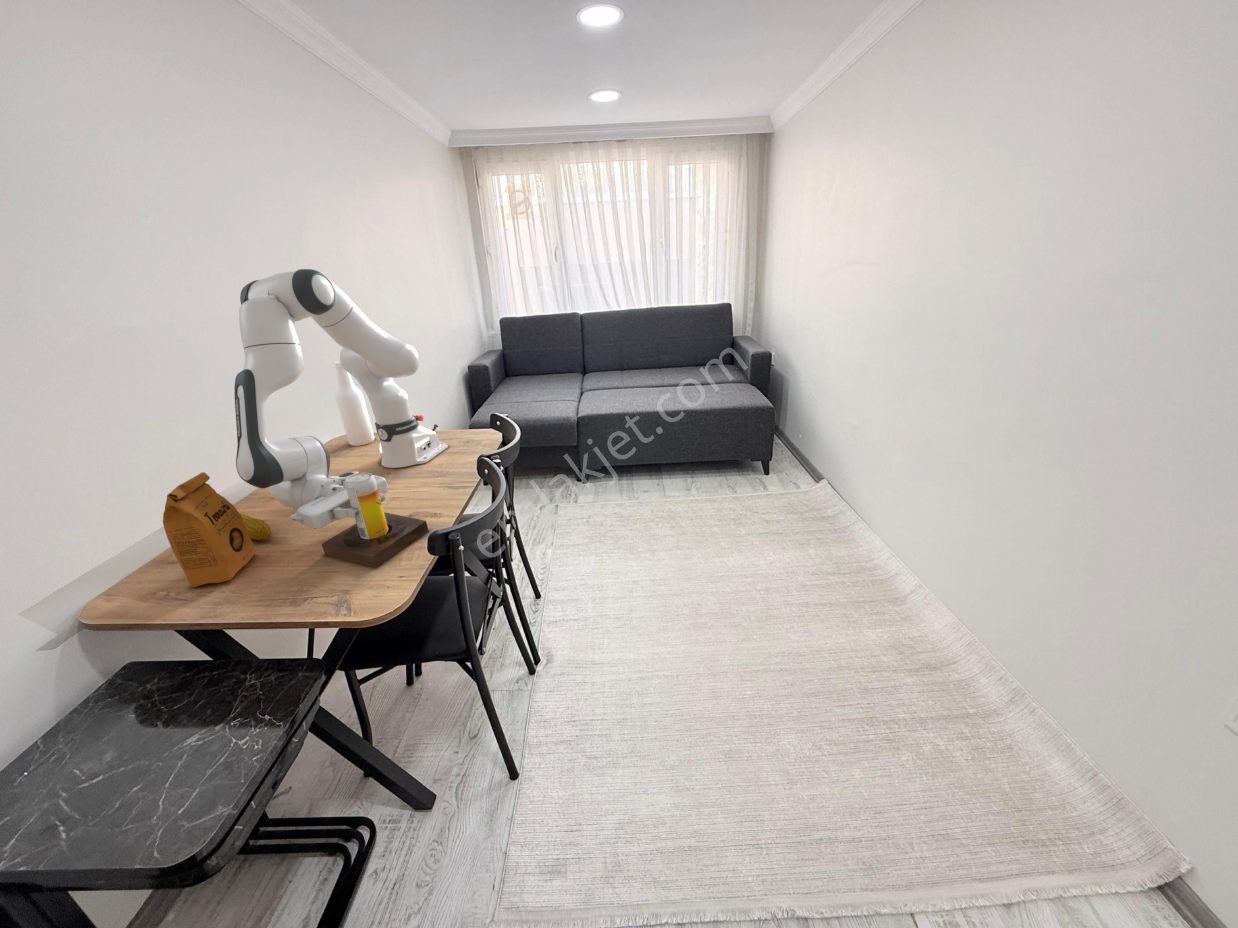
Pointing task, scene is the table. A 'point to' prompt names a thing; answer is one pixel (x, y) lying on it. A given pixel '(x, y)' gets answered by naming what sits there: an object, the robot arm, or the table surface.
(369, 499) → the beer can
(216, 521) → the coffee package
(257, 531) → the food
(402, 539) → the holder
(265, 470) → the robot arm
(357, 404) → the alcohol
